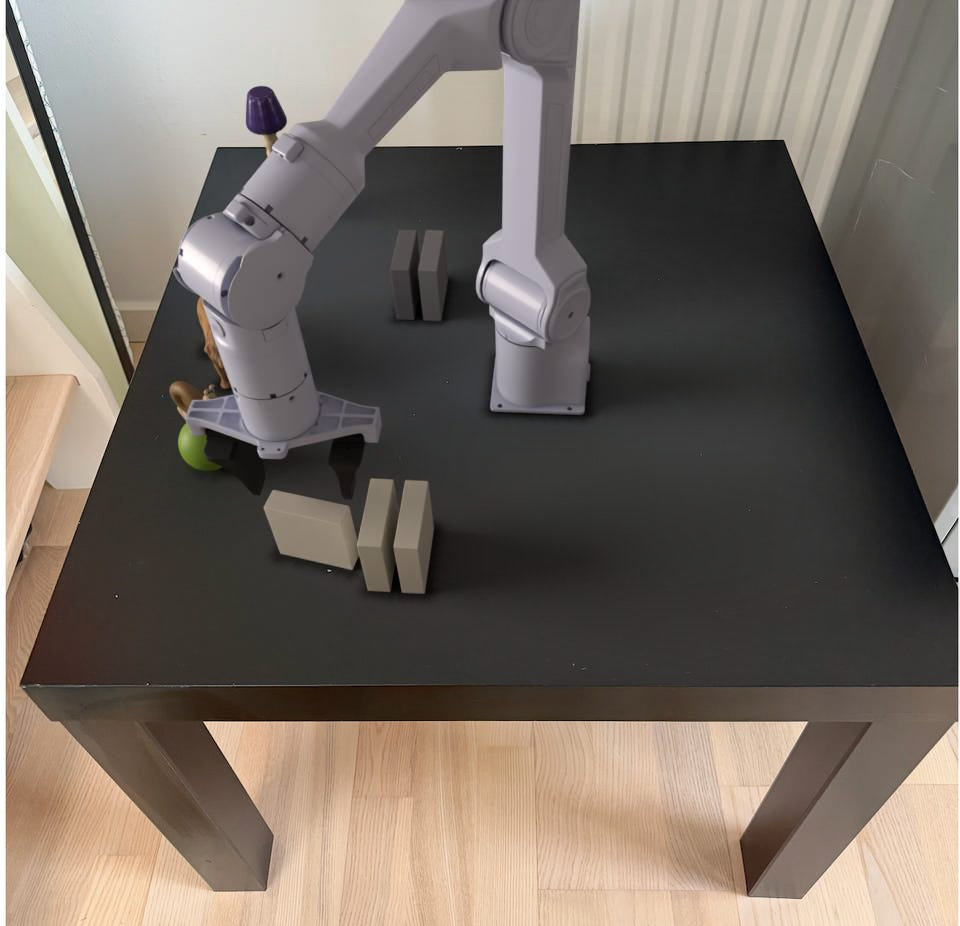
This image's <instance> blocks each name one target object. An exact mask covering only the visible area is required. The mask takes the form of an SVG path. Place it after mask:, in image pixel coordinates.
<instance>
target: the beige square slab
mask: <svg viewBox="0 0 960 926" xmlns="http://www.w3.org/2000/svg"><path fill="white" fill-rule="evenodd" d="M263 511H264V513H265V516H266V518H267V522H268V524H269V526H270V529H271V532H272V534H273V537H274V540H275V543H276V545H277V549H278V551H279V553H280V555H285V556H289V557H293V558H298V559H301V560H306V561H311V562H315V563H319V564H324V565H328V566H333V567H338V568H342V569H346V570H349V571H353V570H354V568H355V565H356V563H357V560H358V558H359V557H360V556H359V552H358V547H357V543H358V536H357V533H356V528H355V525H354V521H353V516H352V513H351V508H350V505H346V504H342V503H337V502H332V501H328V500H323V499H319V498H313V497H309V496H304V495H300V494H296V493H291V492H286V491H281V490H278V489H272V491H271V493H270V494H269V496H268V498H267V499H266V502H265V504H264V505H263Z"/></svg>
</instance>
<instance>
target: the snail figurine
mask: <svg viewBox="0 0 960 926" xmlns="http://www.w3.org/2000/svg"><path fill="white" fill-rule="evenodd" d="M215 390H216V385H215V384H210V385H209V386H208V388H206V389H204V391H203V394H204V395H203V394H202V393H201V392H200V391H199V390H198V389H197V388H196V387H194V386H193V385H191V384H190V383H188V382H187V381H182V380H176V381H174V382H173V383H171V385H170V387H169V395H170V397H171V399H172V400H173V402H174V403H175V405H176V406H177V407H176V408H177V411H178V413H179V414H180V415H181V417H182V418H183V419H184V420H185V417H186V415H187V412H188V409H189V407H190V404H191V402H192V400H208V399H215V398H219V397H218V396H217V395H216V392H215ZM211 391H212V392H211ZM206 437H207V436H206V434H205V435H202V436H200V435H192V434H191V432H190V429H189V427H188V425H187V422H185V423H184V424H183V427H181V429H180V430H179V434H178V439H177V446H178V450H179V453H180V456H181V457H182V459H183V461H184V462H185V463H187V464H188V465H189V466H191V467H192V468H193V469H196V470H199V471H203V472H212V471H217V470H220V469H223V467H221V466H219V465H217V464H215V463H213V462H210V461H208V460H207V458H206V456H205V454H204V448H205V445H206V442H207V440H206Z"/></svg>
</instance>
